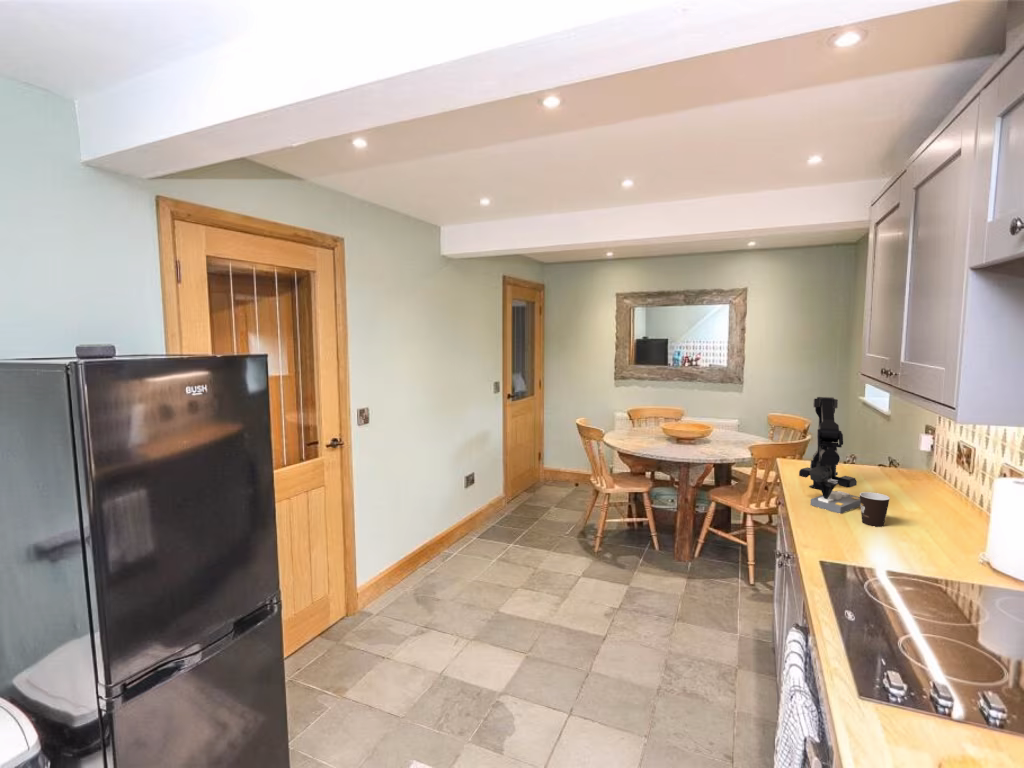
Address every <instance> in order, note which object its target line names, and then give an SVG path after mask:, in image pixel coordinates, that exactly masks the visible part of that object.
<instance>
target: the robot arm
mask: <svg viewBox="0 0 1024 768" xmlns="http://www.w3.org/2000/svg"><path fill="white" fill-rule="evenodd" d="M838 403H839V401H838V399H836V398H834V397H833V396H831V397H829V396H817V397H816V398H814V399H813V408H814V412H815V413H816V415H817V417H818V429H817V431H816V433H817V434H816V440H817V442H816V443H817V450H816V451H815V453H814V454H812V459H810V466H809V467H808V466H807V467H804V468H800V470H799V471H798V476H799V477H801V478H808V477H809V476H810V480H812V484H810V485H809V488H812V489H816V490H819V491H821V494H822V495H823V497H824V499H828V497H829V495H830V494H831V492H832V491H834V488H836V486H837V485H839V486H840V487H843V488H852V487H854V486H857V483H858V481H857V479H856V477H853V476H847V475H843V476H838V474H839V473H838V471H837V466H838V465H839V463H840V459H841V458H840V454H839V451H838V448H843V447H842V446H843V445H844V434H843V432H842V431H841V430H840V425H839V424H838V423H837V422H835V412H836V409H838Z"/></svg>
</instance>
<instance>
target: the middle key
mask: <svg viewBox="0 0 1024 768" xmlns="http://www.w3.org/2000/svg"><path fill="white" fill-rule="evenodd" d="M835 491H836V490H832V492H831V494H830V495H829V497H828V498H832V499H834V500H839V499H842V493H839V492H835Z"/></svg>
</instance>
